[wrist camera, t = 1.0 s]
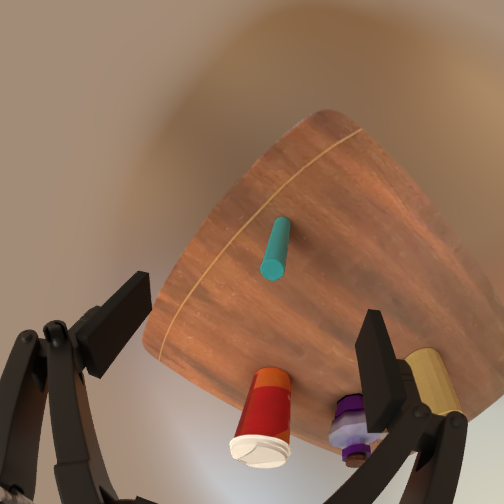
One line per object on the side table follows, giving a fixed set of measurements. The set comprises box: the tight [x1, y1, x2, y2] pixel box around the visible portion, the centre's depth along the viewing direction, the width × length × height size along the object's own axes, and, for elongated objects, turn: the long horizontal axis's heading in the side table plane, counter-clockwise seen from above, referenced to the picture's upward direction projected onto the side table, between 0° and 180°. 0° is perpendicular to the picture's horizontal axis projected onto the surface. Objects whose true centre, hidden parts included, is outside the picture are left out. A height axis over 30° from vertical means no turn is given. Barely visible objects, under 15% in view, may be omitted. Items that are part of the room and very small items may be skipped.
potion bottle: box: [329, 393, 381, 468], centre depth 36 cm, size 9×9×12 cm
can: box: [404, 348, 463, 416], centre depth 31 cm, size 7×7×12 cm
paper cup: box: [229, 367, 291, 468], centre depth 35 cm, size 8×8×14 cm
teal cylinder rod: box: [260, 217, 291, 281], centre depth 27 cm, size 2×2×11 cm
